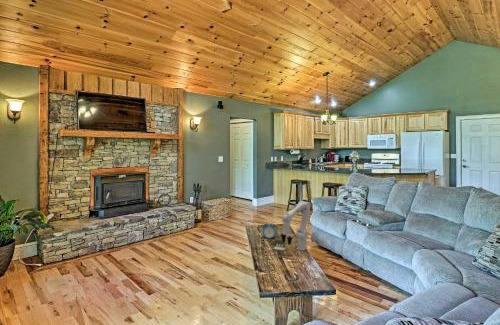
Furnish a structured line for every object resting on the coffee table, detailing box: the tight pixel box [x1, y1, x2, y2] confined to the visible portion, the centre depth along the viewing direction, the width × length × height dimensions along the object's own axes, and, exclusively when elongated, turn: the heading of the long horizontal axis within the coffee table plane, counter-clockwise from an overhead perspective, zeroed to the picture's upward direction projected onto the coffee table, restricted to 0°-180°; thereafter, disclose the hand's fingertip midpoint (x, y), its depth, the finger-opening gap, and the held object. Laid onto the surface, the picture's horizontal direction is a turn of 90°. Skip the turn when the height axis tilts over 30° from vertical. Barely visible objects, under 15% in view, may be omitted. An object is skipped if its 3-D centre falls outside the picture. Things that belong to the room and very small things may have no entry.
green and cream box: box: [272, 244, 287, 253], centre depth 262 cm, size 8×10×5 cm
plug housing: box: [271, 238, 286, 248], centre depth 274 cm, size 4×12×6 cm, turn 62°
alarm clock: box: [262, 223, 277, 239], centre depth 297 cm, size 13×6×15 cm, turn 88°
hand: (286, 243), depth 252 cm, fingers open, 7 cm apart
